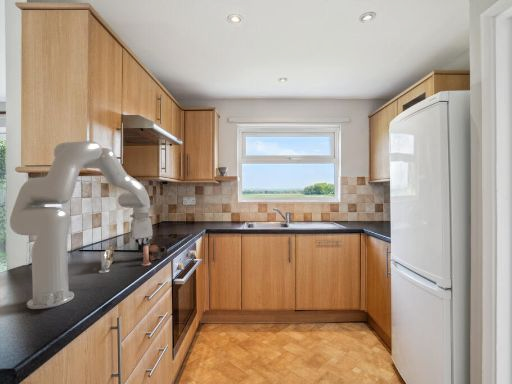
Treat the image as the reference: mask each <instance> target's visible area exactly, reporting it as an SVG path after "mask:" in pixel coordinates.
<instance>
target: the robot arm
mask: <svg viewBox="0 0 512 384" xmlns="http://www.w3.org/2000/svg"><path fill="white" fill-rule="evenodd" d="M53 155H54V159H53V161H52V163H51V166H50V168H49V170H48V173H47V175H46V176H44V177H43V176H42V177H41V176H40V177H33V178H30V179H28V180H26V181H25V182H24V183H23V184H22V185H21V187H20V189H19V191H18V194H17V197H16V200H15V203H14V205H13V207H12V211H11V214H10V216H9V217H10V218H9V226H10V228H11V230H12V231H13V232H14V233H15V234H17V235H21V236H35V237H36V238H35V240H34V242H33V245H32V247H31V265H32V266H31V271H32V273H31V275H32V279H31V280H32V298H31V299H29V300H28V301H27V302H26V307H27V309H30V310H43V309H45V310H46V309H49V308H54V307H58V306H61V305H64V304H66V303H68V302H70V301H72V300H73V299H74V298H75V293H74V292H73V291H70V290H69V261H68V260H69V259H68V258H69V257H68V256H69V255H68V237H69V231H70V227H71V226H70V225H71V217H70V214H69V213H68V212H67V211H66V210H65V209H64V208H60V207H58V206H57V207H56V206H46V205H62V204H67V203H69V201H71V199H72V198H73V194H74V191H75V187H76V185H77V181H78V178H79V175H80V172H81V170H82V169H96V168H97V169H99V170H100V172H101V174H102V175H103V177H104V178H105V180H106V181H107V183H109V185H111V186H113V187H116V188H119V189H122V190H126V191H128V192H123V193H121V194H120V195H119V196H118V199H117V203H118V205H119V206H120V207H121V208H122V207H123V208H129V209H130V208H132V214H130V215H129V217H130V218H132V219H131V220H130V221H131V222H130V229H129V230H130V231H129V232H130V233H129V234H130V239H129V240H130V242H135V243H136V244H137V250H138V251H139V252H141V253H143V246H146V243H147V242H148V241H149V240H151V239H153V233H154V231H153V225H152V220H151V219H152V218H150V216H149V215H150V214H149V204H150V196H149V193H148V191H147V190H146V188H145V187H144V185H143V184H142V183H141V182H140V181H138V180H137V179H135V178H134V177H132V176H131V175H129V174H128V173H127V172H126V170H125V168H124V167H123V165H122V164H121V162H120V160H119V159H118V157H117V156H116V154H115V152H114V151H113V150H112V149H110V148H107V147H102V146H101V145H100V143H99V142H96V141H93V140H83V141H71V142H70V141H68V142H67V141H66V142H61V143H58V144H57V145H56V146H55V148H54V150H53Z"/></svg>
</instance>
